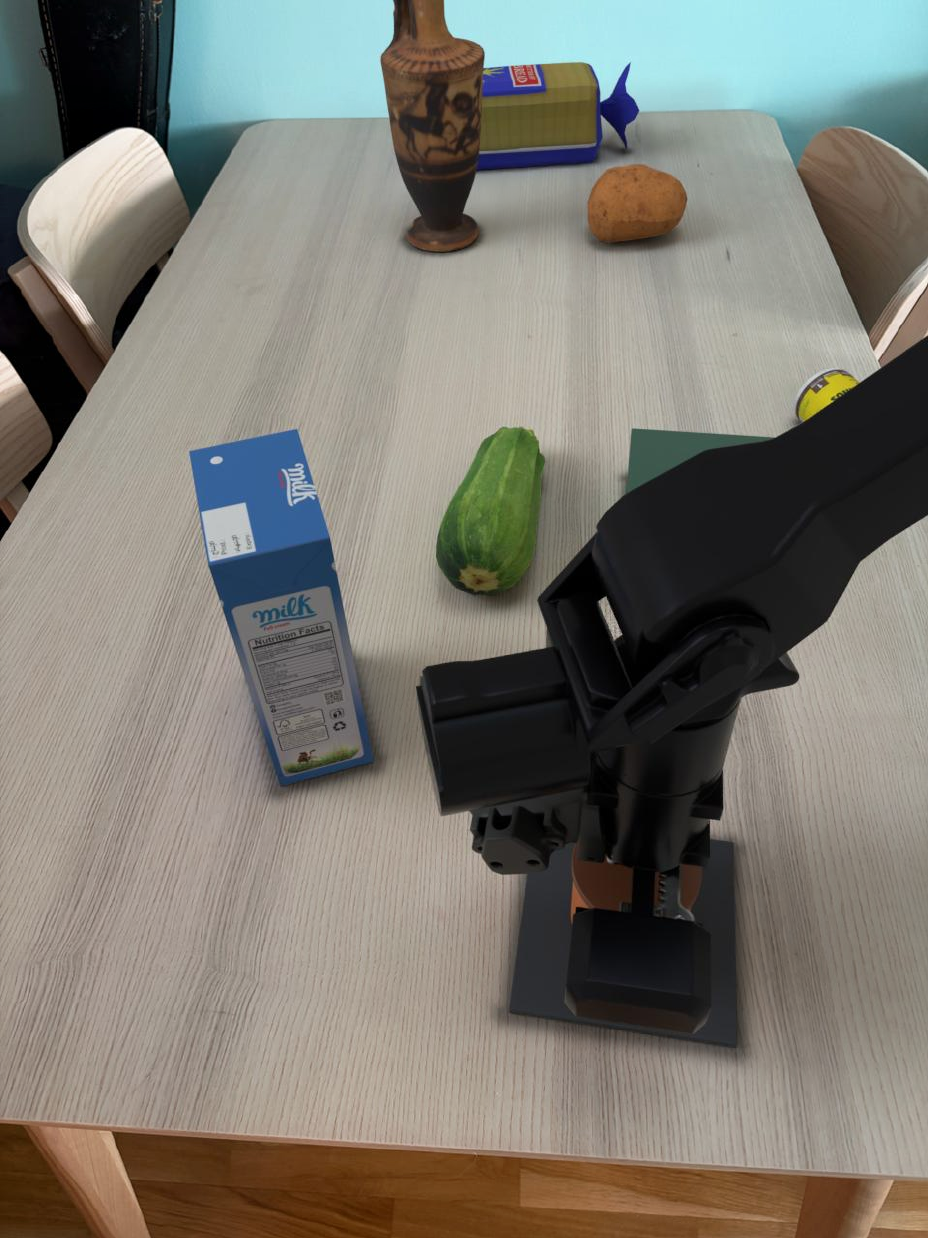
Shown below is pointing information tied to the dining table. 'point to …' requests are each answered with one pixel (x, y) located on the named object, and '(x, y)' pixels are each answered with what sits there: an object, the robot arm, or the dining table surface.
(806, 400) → the supplement bottle
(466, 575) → the vegetable
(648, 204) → the potato
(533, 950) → the mat
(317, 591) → the milk carton
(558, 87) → the bread
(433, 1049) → the dining table surface
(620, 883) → the round tub
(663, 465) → the storage box
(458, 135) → the vase
